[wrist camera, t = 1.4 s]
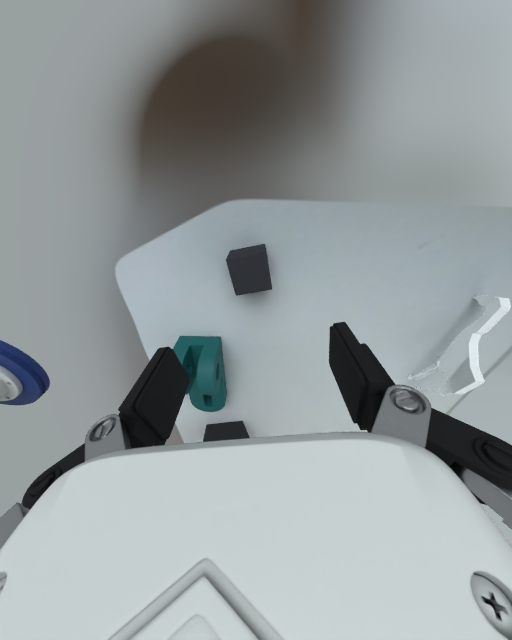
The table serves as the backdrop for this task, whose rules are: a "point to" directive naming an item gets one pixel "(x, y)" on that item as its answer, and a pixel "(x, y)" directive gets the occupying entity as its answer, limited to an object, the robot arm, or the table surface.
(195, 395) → the bracket
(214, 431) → the black rectangular box
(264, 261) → the dark grey cube
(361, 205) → the table surface
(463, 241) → the table surface
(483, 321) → the llama figurine
